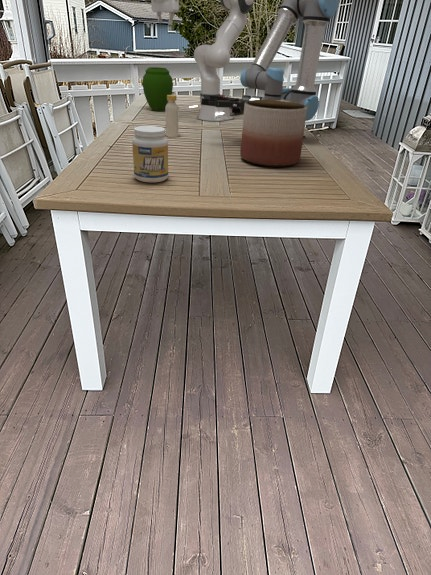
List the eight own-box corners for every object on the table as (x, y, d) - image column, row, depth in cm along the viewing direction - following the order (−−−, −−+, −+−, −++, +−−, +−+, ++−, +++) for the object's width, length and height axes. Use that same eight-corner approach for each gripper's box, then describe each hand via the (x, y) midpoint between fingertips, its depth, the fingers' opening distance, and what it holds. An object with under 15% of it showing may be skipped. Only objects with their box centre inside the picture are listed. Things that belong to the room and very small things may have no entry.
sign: (232, 108, 270) (231, 101, 295) (232, 112, 272) (230, 105, 297) (261, 109, 270) (257, 102, 296) (260, 114, 272) (257, 107, 297)
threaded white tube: (163, 136, 205) (162, 96, 195) (170, 134, 210) (169, 95, 200) (174, 137, 203) (173, 97, 193) (180, 135, 208) (180, 96, 198)
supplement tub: (139, 184, 140) (136, 133, 131) (130, 174, 149) (127, 125, 140) (173, 181, 144) (172, 131, 135) (162, 172, 153) (161, 124, 144)
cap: (165, 100, 197) (165, 95, 196) (170, 99, 200) (170, 94, 199) (173, 101, 195) (173, 96, 194) (178, 100, 198) (178, 95, 197)
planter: (308, 168, 166) (317, 110, 154) (247, 168, 162) (252, 108, 150) (288, 152, 187) (295, 100, 175) (234, 152, 183) (238, 98, 171)
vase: (143, 107, 275) (142, 66, 262) (173, 108, 277) (172, 67, 264) (142, 112, 259) (140, 68, 246) (173, 113, 261) (173, 70, 248)
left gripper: (182, -11, 195) (182, 24, 203) (159, -9, 209) (160, 23, 216) (171, -12, 192) (171, 23, 199) (148, -11, 205) (149, 22, 213)
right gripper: (244, 117, 178) (197, 111, 182) (254, 110, 199) (212, 105, 203) (246, 98, 175) (198, 93, 178) (256, 93, 195) (213, 89, 199)
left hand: (165, 23), depth 208 cm, fingers open, 8 cm apart
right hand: (205, 100), depth 191 cm, fingers open, 13 cm apart
